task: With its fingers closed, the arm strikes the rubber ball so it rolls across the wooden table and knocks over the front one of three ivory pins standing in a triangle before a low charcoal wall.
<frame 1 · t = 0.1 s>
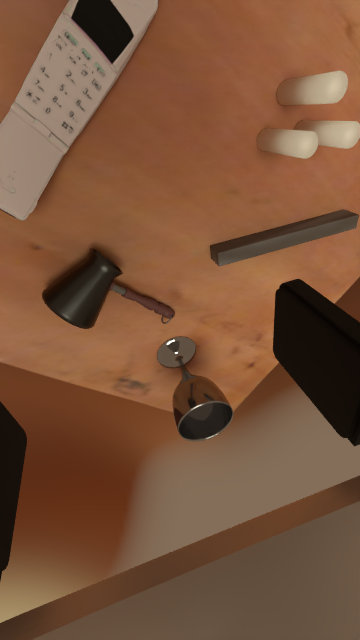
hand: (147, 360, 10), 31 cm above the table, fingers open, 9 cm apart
pin 1: (265, 139, 37), on the table
back wall: (279, 233, 45), on the table
silver goblet: (176, 352, 52), on the table
mobile phone: (67, 88, 29), on the table
coffee pot: (115, 295, 43), on the table
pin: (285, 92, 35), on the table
pin 2: (301, 131, 37), on the table
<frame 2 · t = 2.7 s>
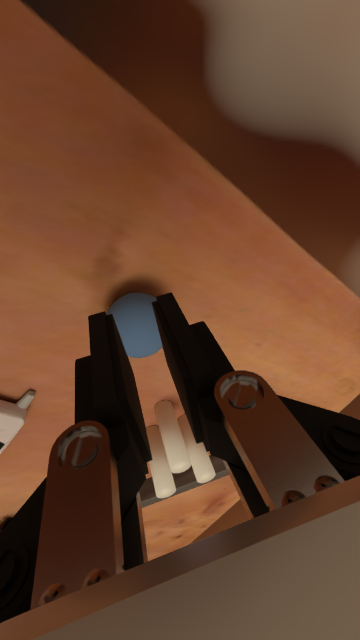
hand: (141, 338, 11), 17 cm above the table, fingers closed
pin 1: (151, 431, 42), on the table
back wall: (181, 469, 49), on the table
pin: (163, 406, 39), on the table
ball: (138, 325, 27), on the table
pin 2: (185, 419, 42), on the table
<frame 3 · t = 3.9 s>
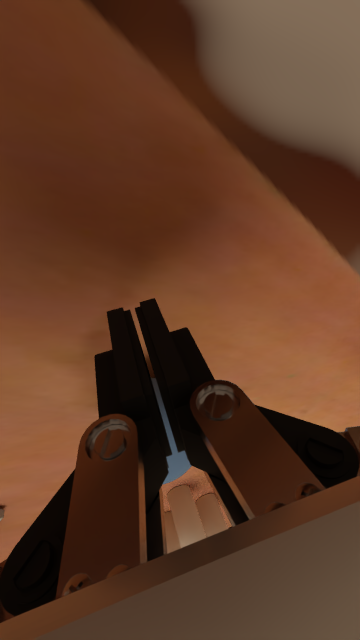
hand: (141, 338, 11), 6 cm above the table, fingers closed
pin 1: (162, 517, 32), on the table
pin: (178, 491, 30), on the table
ball: (154, 428, 18), on the table
pin 2: (205, 499, 33), on the table
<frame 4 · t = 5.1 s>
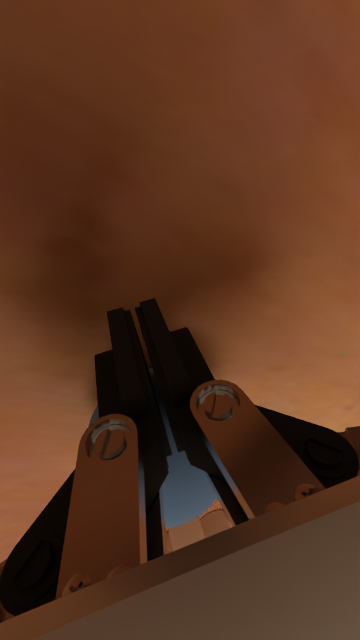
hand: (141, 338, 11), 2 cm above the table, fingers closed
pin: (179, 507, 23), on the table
ball: (160, 440, 12), on the table, touching gripper
pin 2: (212, 517, 26), on the table
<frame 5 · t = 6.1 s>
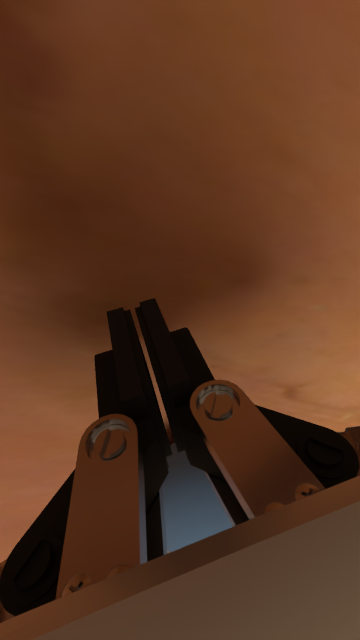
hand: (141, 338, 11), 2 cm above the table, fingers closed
ball: (206, 494, 15), on the table
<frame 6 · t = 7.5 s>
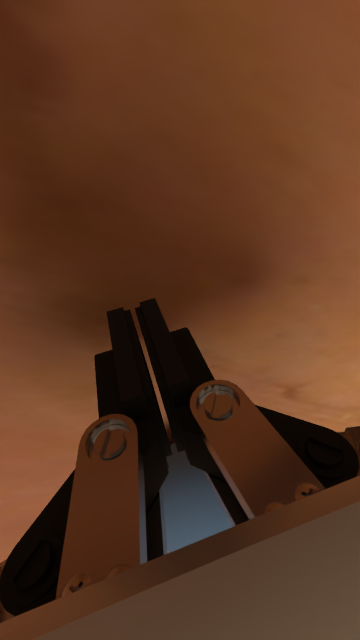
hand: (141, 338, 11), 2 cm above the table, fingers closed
ball: (206, 494, 15), on the table
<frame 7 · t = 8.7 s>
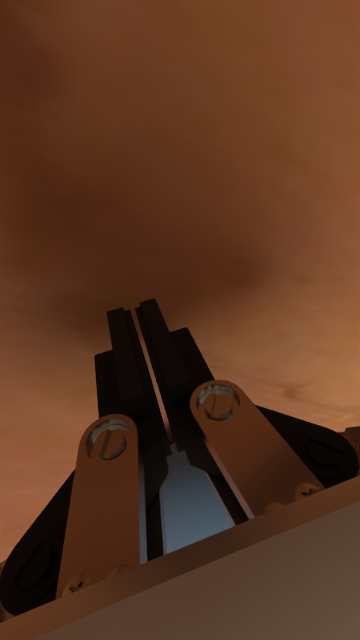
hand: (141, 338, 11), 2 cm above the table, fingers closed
ball: (206, 494, 15), on the table
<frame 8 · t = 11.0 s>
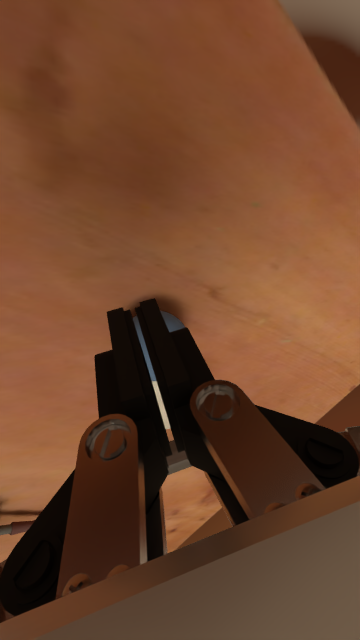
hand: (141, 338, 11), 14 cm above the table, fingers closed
back wall: (174, 444, 40), on the table
coffee pot: (10, 516, 39), on the table
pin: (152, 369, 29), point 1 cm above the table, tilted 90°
ball: (155, 345, 25), on the table
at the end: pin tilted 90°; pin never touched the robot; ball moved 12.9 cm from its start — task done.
